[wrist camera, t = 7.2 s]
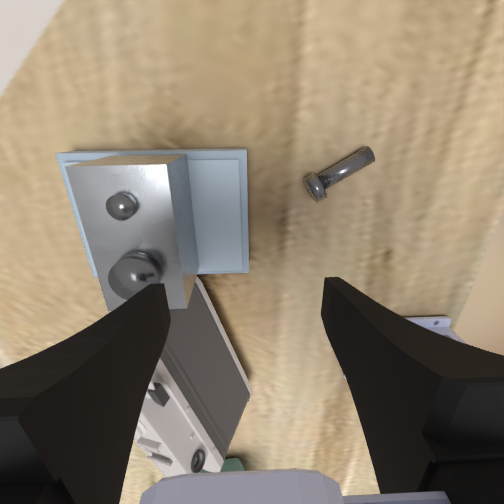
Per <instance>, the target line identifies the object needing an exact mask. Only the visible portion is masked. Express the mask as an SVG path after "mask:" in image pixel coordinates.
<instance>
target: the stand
mask: <svg viewBox="0 0 504 504" xmlns="http://www.w3.org/2000/svg"><path fill="white" fill-rule="evenodd" d="M55 154H56V157H57V160H58V163H59V167H60V170H61V173H62V176H63V180H64V183H65V186H66V189H67V192H68V196H69V199H70V202H71V205H72V209H73V212H74V215H75V218H76V222H77V225H78V228H79V231H80V235H81V238H82V241H83V244H84V247H85V251H86V254H87V257H88V260H89V264H90V267H91V270H92V273H93V277H98V275H97V272H96V268H95V265H94V262H93V258H92V255H91V252H90V249H89V245H88V242H87V239H86V235H85V232H84V229H83V225H82V222H81V219H80V215H79V212H78V209H77V205H76V202H75V199H74V195H73V192H72V189H71V186H70V182H69V179H68V176H67V172H66V169H65V166H69V165H73V164H78V163H82V162H86V161H91V160H95V159H99V158H104V157H108V156H112V155H161V154H187V162H188V171H189V180H190V189H191V198H192V207H193V216H194V225H195V234H196V243H197V252H198V261H199V270H198V273H197V274H221V273H249V246H248V196H247V150H246V148H217V149H155V150H93V151H69V152H62V153H55Z"/></svg>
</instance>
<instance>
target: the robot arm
mask: <svg viewBox="0 0 504 504" xmlns="http://www.w3.org/2000/svg"><path fill="white" fill-rule="evenodd" d="M321 317H322V320H323V324H324V327H325V331H326V334H327V336H328V339H329V341H330V343H331V346H332V348H333V350H334V353H335V355H336V357H337V359H338V362H339V364H340V366H341V368H342V371H343V373H344V374H343V376H344V378H345V379H346V380H347V382H348V385H349V388H350V390H351V394H352V397H353V400H354V403H355V406H356V409H357V412H358V415H359V419H360V422H361V425H362V428H363V432H364V435H365V438H366V442H367V446H368V449H369V453H370V456H371V460H372V463H373V467H374V471H375V475H376V478H377V482H378V486H379V490H380V494H373V495H353V496H342V494H341V490H340V487H339V483H337V482H336V481H335V480H333V479H332V478H330V477H328V476H326V475H324V474H323V473H321V472H319V471H315V470H306V469H296V468H294V469H274V470H253V471H232V472H212V473H191V474H181V475H176V476H171V477H166V478H162V479H161V480H159V481H158V482H157V483H155V484H154V485H152V486H151V487H150V488H148V489H147V490H146V491H144V492H143V493H142V496H141V500H140V504H504V356H503V355H499V354H496V353H492V352H489V351H486V350H483V349H480V348H477V347H474V346H470V345H468V344H466V343H465V342H464V341H463V340H462V339H461V338H460V337H459V336H458V335H457V334H456V333H455V332H454V331H453V330H452V329H451V328H450V324H451V319H450V318H449V317H447V316H439V317H410V318H404V317H402V316H400V315H398V314H396V313H394V312H392V311H391V310H389V309H387V308H386V307H384V306H382V305H381V304H379V303H377V302H376V301H374V300H373V299H371V298H369V297H368V296H366V295H365V294H363V293H362V292H360V291H359V290H357V289H356V288H355V287H353V286H352V285H350V284H349V283H347V282H346V281H344V280H343V279H341V278H339V277H325V281H324V290H323V299H322V309H321ZM170 323H171V317H170V311H169V306H168V301H167V295H166V290H165V285H164V283H156V284H149V285H148V286H146V287H145V288H143V289H142V290H140V291H139V292H138V293H136V294H135V295H134V296H132V297H131V298H130V299H128V300H127V301H126V302H124V303H123V304H121V305H120V306H119V307H117V308H116V309H115V310H113V311H112V312H110V313H109V314H107V315H106V316H104V317H103V318H101V319H100V320H98V321H97V322H95V323H94V324H92V325H90V326H89V327H87V328H85V329H84V330H82V331H80V332H78V333H77V334H75V335H73V336H71V337H69V338H68V339H66V340H64V341H62V342H60V343H58V344H55V345H53V346H51V347H49V348H47V349H45V350H43V351H41V352H39V353H37V354H35V355H32V356H30V357H28V358H26V359H23V360H21V361H19V362H16V363H14V364H11V365H9V366H6V367H4V368H1V369H0V504H119V502H120V497H121V492H122V487H123V482H124V478H125V474H126V469H127V465H128V461H129V456H130V452H131V448H132V444H133V440H134V436H135V432H136V428H137V424H138V420H139V417H140V413H141V409H142V406H143V402H144V399H145V395H146V392H147V390H148V387H149V384H150V381H151V379H152V376H153V374H154V371H155V369H156V366H157V364H158V361H159V358H160V356H161V353H162V351H163V348H164V345H165V343H166V340H167V336H168V332H169V328H170Z"/></svg>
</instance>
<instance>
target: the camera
mask: <svg viewBox="0 0 504 504" xmlns="http://www.w3.org/2000/svg"><path fill="white" fill-rule="evenodd" d="M169 311H170V317H171V323H170V328H169V332H168V336H167V340H166V343H165V345H164V348H163V351H162V353H161V356H160V358H159V361H158V364H157V366H156V369H155V371H154V374H153V376H152V379H151V381H150V384H149V387H148V390H147V392H146V395H145V399H144V402H143V406H142V409H141V413H140V417H139V420H138V424H137V428H136V432H135V436H134V439H135V440H136V441H137V446H139V447H141V448H142V449H143V450H144V451H145V453H146V454H147V455H148V459H149V460H152V461H153V462H154V464H155V465H156V466H157V467H158V469H159V470H160V471H161V472H162V474H163V475H164V476H165V477H171V476H176V475H181V474H191V473H200V472H201V470H202V469H204V470H206V471H209V472H220V470H221V468H222V465H223V463H224V459H225V457H226V455H227V452H228V448H229V445H230V443H231V440H232V438H233V436H234V433H235V431H236V428H237V426H238V423H239V421H240V418H241V416H242V414H243V411H244V409H245V406H246V404H247V402H248V401H249V399H250V397H251V394H252V387H251V385H250V383H249V381H248V379H247V377H246V375H245V373H244V371H243V368H242V366H241V364H240V362H239V360H238V358H237V356H236V354H235V351H234V349H233V347H232V345H231V343H230V341H229V339H228V337H227V335H226V332H225V330H224V328H223V326H222V324H221V322H220V320H219V318H218V315H217V313H216V311H215V309H214V307H213V305H212V303H211V301H210V298H209V296H208V294H207V292H206V290H205V288H204V286H203V284H202V282H201V280H200V279H199V278H198V277H197V276H196V280H195V283H194V287H193V290H192V293H191V297H190V300H189V304H188V307H187V309H169Z"/></svg>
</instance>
